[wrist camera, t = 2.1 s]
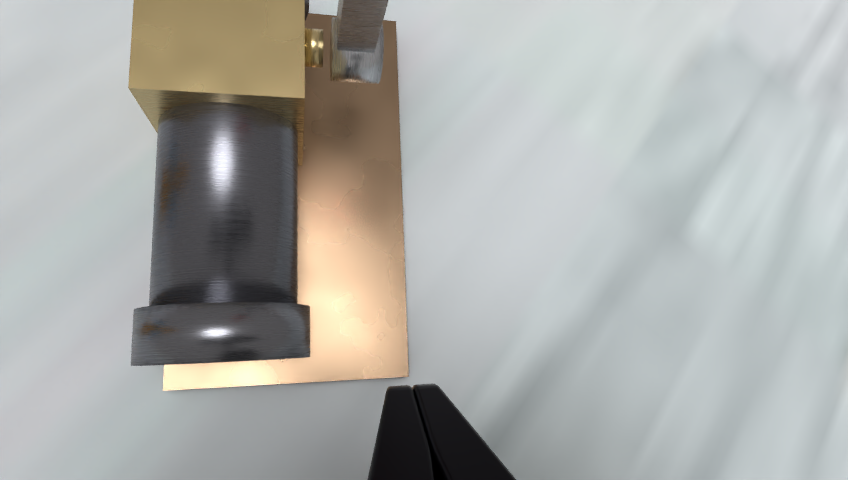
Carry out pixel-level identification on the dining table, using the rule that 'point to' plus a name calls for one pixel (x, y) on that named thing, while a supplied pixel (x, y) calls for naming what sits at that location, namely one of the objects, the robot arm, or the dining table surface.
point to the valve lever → (357, 41)
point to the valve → (267, 199)
